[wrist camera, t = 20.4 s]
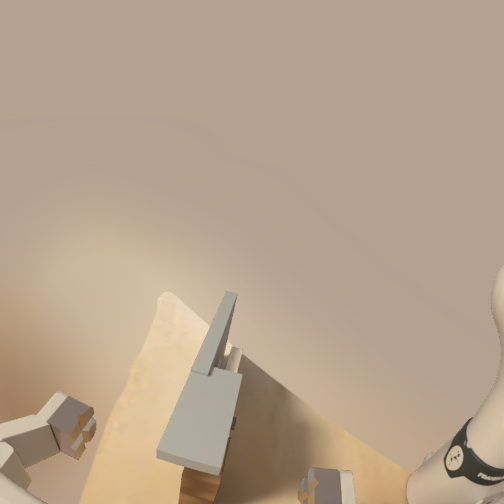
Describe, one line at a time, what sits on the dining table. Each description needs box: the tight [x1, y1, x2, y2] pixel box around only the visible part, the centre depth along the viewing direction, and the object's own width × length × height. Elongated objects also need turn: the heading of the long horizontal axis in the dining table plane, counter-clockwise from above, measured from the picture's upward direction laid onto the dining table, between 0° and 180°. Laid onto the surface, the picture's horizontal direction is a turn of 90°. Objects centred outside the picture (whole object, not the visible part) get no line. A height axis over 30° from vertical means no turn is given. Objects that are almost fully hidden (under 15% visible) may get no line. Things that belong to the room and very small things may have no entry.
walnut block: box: [179, 437, 231, 504], centre depth 31 cm, size 4×7×9 cm, turn 173°
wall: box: [157, 291, 243, 476], centre depth 41 cm, size 6×34×15 cm, turn 173°
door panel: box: [225, 347, 243, 430], centre depth 40 cm, size 3×14×12 cm, turn 173°
